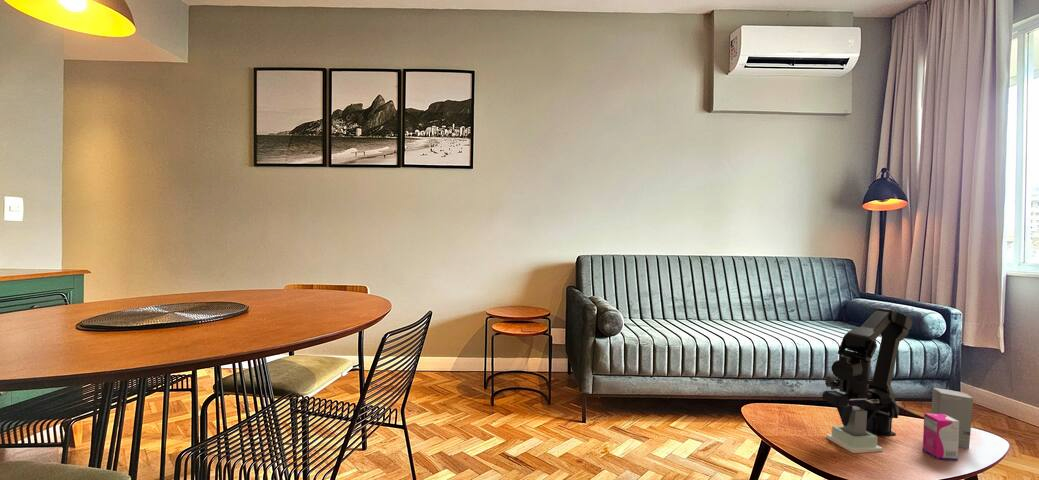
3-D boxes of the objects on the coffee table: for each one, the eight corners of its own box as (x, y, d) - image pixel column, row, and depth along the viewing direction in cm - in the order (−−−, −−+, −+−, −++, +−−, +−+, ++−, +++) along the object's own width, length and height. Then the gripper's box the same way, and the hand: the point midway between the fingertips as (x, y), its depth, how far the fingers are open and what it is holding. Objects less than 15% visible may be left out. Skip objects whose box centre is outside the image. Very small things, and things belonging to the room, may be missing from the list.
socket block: (854, 436, 151) (854, 423, 151) (882, 451, 141) (883, 438, 141) (826, 437, 149) (826, 425, 149) (853, 453, 140) (853, 439, 139)
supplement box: (942, 451, 142) (944, 413, 142) (958, 461, 136) (961, 421, 136) (921, 449, 143) (923, 412, 142) (936, 459, 137) (939, 420, 136)
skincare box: (935, 443, 147) (939, 393, 146) (927, 434, 153) (930, 386, 153) (971, 450, 143) (975, 398, 143) (962, 440, 150) (965, 390, 149)
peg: (853, 437, 148) (855, 406, 147) (865, 443, 144) (867, 411, 143) (842, 438, 147) (844, 406, 146) (853, 444, 143) (855, 411, 143)
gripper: (861, 365, 154) (858, 412, 155) (809, 367, 151) (807, 415, 152) (893, 376, 143) (890, 427, 144) (838, 378, 140) (835, 430, 141)
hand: (854, 424), depth 145 cm, fingers open, 7 cm apart
